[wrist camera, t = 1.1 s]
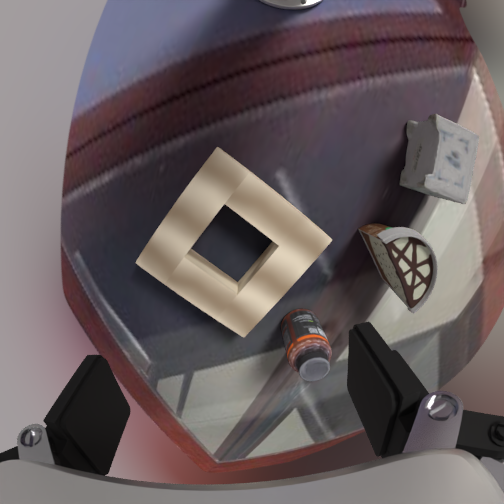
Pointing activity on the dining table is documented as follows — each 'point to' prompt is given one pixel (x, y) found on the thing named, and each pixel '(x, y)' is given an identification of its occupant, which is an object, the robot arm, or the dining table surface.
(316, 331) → the supplement bottle
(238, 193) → the socket board
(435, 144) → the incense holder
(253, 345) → the dining table surface
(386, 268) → the food container
